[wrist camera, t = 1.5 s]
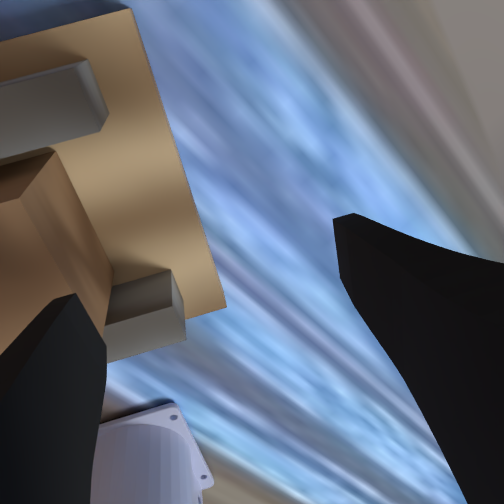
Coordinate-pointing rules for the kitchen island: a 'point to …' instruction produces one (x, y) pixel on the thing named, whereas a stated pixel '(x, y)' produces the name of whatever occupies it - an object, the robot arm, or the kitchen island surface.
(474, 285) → the robot arm
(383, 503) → the kitchen island surface
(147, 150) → the chute board
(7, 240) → the walnut block
